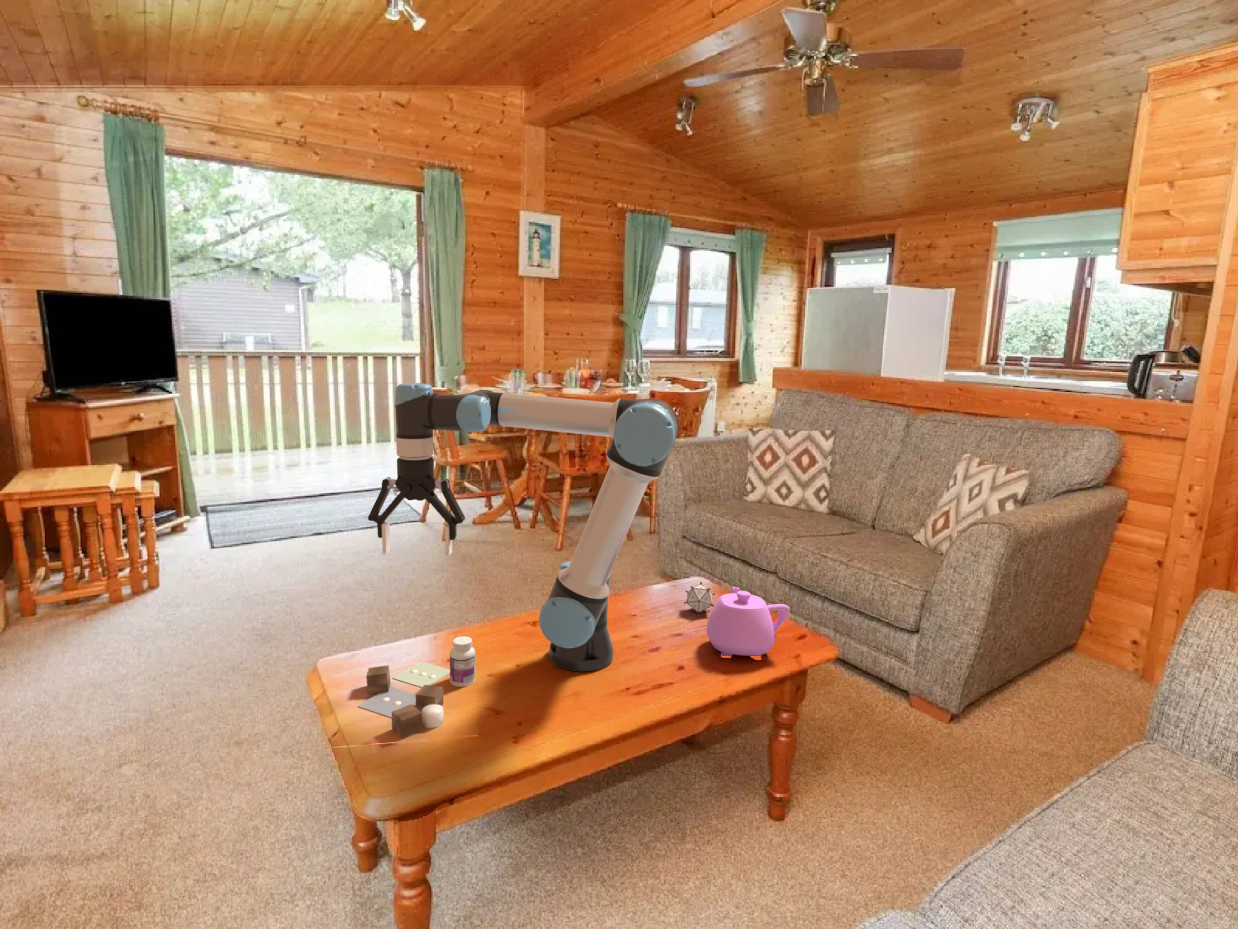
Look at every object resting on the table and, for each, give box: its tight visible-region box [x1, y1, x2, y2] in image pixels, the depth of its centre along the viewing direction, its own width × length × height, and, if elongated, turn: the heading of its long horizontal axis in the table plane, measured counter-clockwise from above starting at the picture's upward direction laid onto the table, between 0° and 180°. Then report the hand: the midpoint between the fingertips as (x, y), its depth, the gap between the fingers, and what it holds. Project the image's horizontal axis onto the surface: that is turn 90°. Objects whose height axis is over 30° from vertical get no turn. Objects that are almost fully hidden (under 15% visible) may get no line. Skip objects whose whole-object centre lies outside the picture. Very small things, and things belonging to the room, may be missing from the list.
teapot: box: [706, 586, 791, 657], centre depth 171 cm, size 20×20×15 cm
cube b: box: [391, 705, 423, 739], centre depth 129 cm, size 4×4×4 cm
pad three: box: [392, 660, 450, 689], centre depth 151 cm, size 9×9×1 cm
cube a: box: [415, 685, 444, 712], centre depth 137 cm, size 4×4×4 cm
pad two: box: [357, 685, 417, 719], centre depth 139 cm, size 9×9×1 cm
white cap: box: [422, 704, 444, 729], centre depth 132 cm, size 4×4×3 cm
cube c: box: [365, 665, 391, 695], centre depth 144 cm, size 4×4×4 cm
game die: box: [683, 581, 716, 613], centre depth 193 cm, size 9×8×10 cm
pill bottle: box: [449, 636, 476, 687], centre depth 148 cm, size 5×5×10 cm
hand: (417, 553), depth 150 cm, fingers open, 13 cm apart
